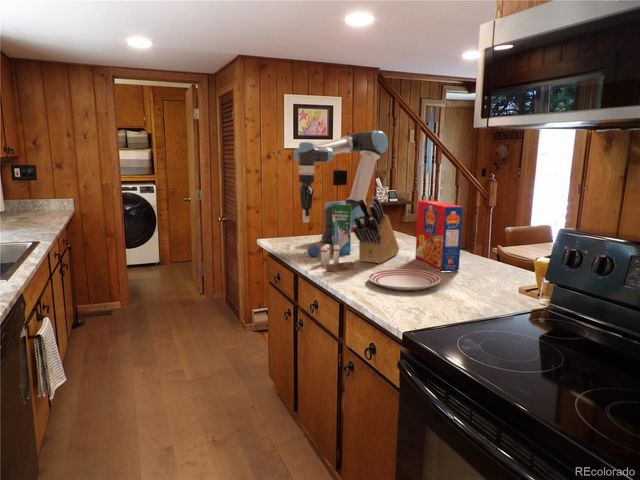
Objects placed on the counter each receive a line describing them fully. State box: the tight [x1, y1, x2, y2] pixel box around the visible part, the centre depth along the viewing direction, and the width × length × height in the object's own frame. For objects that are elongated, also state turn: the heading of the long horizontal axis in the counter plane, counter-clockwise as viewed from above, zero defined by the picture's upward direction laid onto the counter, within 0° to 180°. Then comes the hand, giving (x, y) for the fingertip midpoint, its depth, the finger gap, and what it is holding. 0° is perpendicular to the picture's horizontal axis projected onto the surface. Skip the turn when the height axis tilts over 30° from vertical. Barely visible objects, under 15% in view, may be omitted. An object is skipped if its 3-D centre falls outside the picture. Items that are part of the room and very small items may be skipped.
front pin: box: [323, 243, 330, 264], centre depth 213 cm, size 2×2×8 cm
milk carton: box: [331, 203, 352, 256], centre depth 236 cm, size 9×9×25 cm
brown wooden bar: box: [325, 261, 355, 273], centre depth 201 cm, size 12×2×3 cm, turn 114°
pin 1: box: [320, 245, 327, 267], centre depth 208 cm, size 2×2×8 cm
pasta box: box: [415, 200, 464, 271], centre depth 210 cm, size 28×8×28 cm, turn 11°
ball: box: [307, 243, 321, 258], centre depth 227 cm, size 6×6×6 cm
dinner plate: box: [367, 268, 442, 291], centre depth 180 cm, size 27×27×3 cm
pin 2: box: [333, 246, 340, 263], centre depth 211 cm, size 2×2×8 cm
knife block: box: [352, 196, 400, 264], centre depth 219 cm, size 11×35×31 cm, turn 152°
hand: (306, 222), depth 233 cm, fingers closed
